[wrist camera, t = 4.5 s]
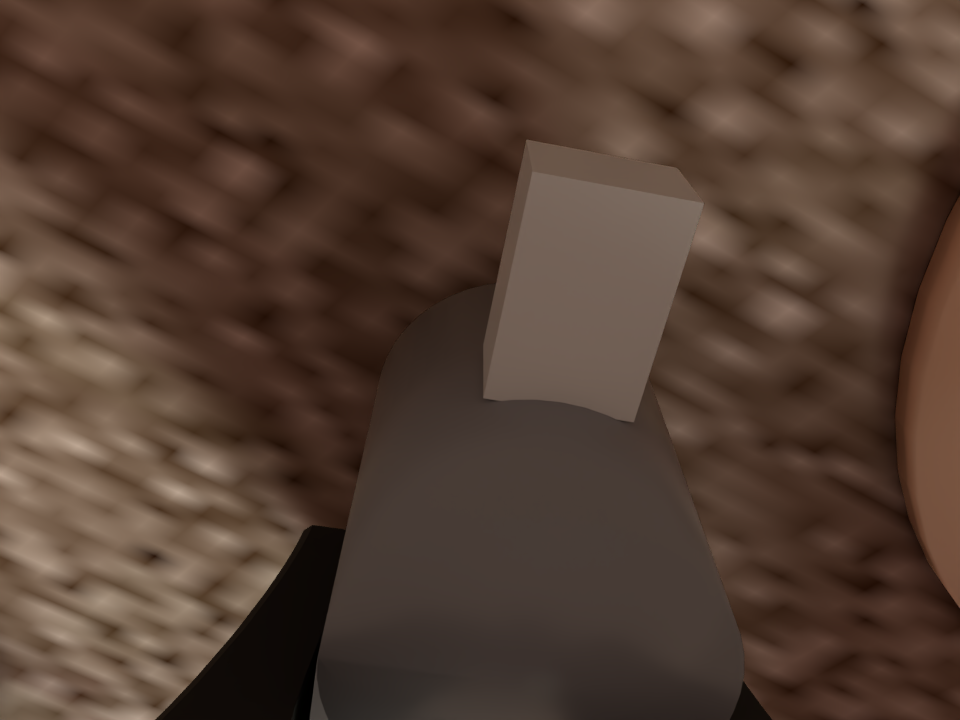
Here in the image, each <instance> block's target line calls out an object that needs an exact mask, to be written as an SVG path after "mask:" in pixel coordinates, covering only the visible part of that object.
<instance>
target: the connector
mask: <svg viewBox="0 0 960 720" xmlns="http://www.w3.org/2000/svg"><path fill="white" fill-rule="evenodd" d="M703 206H704V202H703V201H702V199H701V198H700V197H699V196H698V194H697V193H696V192H695V190H694V189H693V188H692V186H691V185H690V184H689V182H688V181H687V180H686V179H685V177H684V176H683V175H682V173H681V172H680V171H679V169H678V168H676V167H670V166H665V165H660V164H654V163H649V162H644V161H638V160H633V159H628V158H622V157H617V156H612V155H606V154H601V153H596V152H590V151H585V150H580V149H574V148H569V147H564V146H558V145H553V144H548V143H542V142H537V141H532V140H526V144H525V148H524V153H523V158H522V163H521V167H520V172H519V177H518V182H517V186H516V191H515V196H514V201H513V206H512V210H511V215H510V220H509V225H508V229H507V234H506V239H505V244H504V248H503V253H502V258H501V263H500V268H499V272H498V277H497V282H496V284H488V285H483V286H479V287H475V288H471V289H467V290H465V291H462V292H460V293H457V294H455V295H452V296H449V297H448V298H446V299H444V300H442V301H440V302H438V303H437V304H435V305H433V306H432V307H430V308H429V309H428V310H426V311H425V312H424V313H422V314H421V315H419V316H418V317H417V318H416V319H415V320H414V321H413V322H412V323H411V324H410V325H409V326H408V327H407V328H406V329H405V330H404V331H403V333H402V334H401V335H400V337H399V338H398V339H397V340H396V342H395V343H394V345H393V347H392V349H391V350H390V352H389V354H388V356H387V358H386V361H385V363H384V366H383V368H382V371H381V375H380V380H379V384H378V389H377V393H376V398H375V402H374V407H373V411H372V416H371V420H370V425H369V429H368V434H367V438H366V443H365V447H364V451H363V456H362V460H361V465H360V469H359V474H358V478H357V483H356V487H355V492H354V496H353V501H352V505H351V510H350V514H349V519H348V523H347V528H346V532H345V537H344V541H343V546H342V550H341V555H340V559H339V564H338V568H337V572H336V577H335V581H334V586H333V590H332V595H331V599H330V604H329V608H328V613H327V617H326V622H325V626H324V631H323V635H322V640H321V644H320V649H319V653H318V658H317V665H316V673H315V681H314V689H313V696H312V704H311V712H310V720H730V718H731V716H732V714H733V712H734V709H735V707H736V704H737V701H738V699H739V696H740V693H741V688H742V683H743V678H744V650H743V645H742V639H741V634H740V632H739V629H738V626H737V623H736V620H735V618H734V615H733V612H732V609H731V606H730V604H729V601H728V598H727V595H726V592H725V590H724V587H723V584H722V581H721V578H720V576H719V573H718V570H717V567H716V564H715V562H714V559H713V556H712V553H711V550H710V548H709V545H708V542H707V539H706V536H705V534H704V531H703V528H702V525H701V522H700V520H699V517H698V514H697V511H696V508H695V506H694V503H693V500H692V497H691V494H690V492H689V489H688V486H687V483H686V480H685V478H684V475H683V472H682V469H681V466H680V464H679V461H678V458H677V455H676V452H675V450H674V447H673V444H672V441H671V438H670V436H669V433H668V430H667V427H666V424H665V422H664V419H663V416H662V413H661V410H660V408H659V405H658V402H657V399H656V397H655V394H654V391H653V388H652V385H651V383H650V380H649V374H650V371H651V367H652V364H653V361H654V358H655V355H656V352H657V349H658V346H659V343H660V339H661V336H662V333H663V330H664V327H665V324H666V321H667V318H668V315H669V312H670V308H671V305H672V302H673V299H674V296H675V293H676V290H677V287H678V284H679V281H680V277H681V274H682V271H683V268H684V265H685V262H686V259H687V256H688V253H689V250H690V246H691V243H692V240H693V237H694V234H695V231H696V228H697V225H698V222H699V219H700V215H701V212H702V209H703Z"/></svg>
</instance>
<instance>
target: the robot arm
mask: <svg viewBox="0 0 960 720" xmlns="http://www.w3.org/2000/svg"><path fill="white" fill-rule="evenodd" d="M345 532H346V530H343V529H336V528H329V527H322V526H315V525H312V526H310V527H309V528H307V529H305V530H304V531H303V533H302V535H301V537H300V539H299V541H298V543H297V545H296V547H295V548H294V550H293V552H292V554H291V555H290V557H289V558H288V560H287V562H286V563H285V565H284V566H283V568H282V569H281V571H280V572H279V574H278V575H277V577H276V578H275V580H274V581H273V583H272V584H271V585H270V587H269V588H268V590H267V591H266V593H265V594H264V595H263V597H262V598H261V599H260V600H259V602H258V603H257V604H256V606H255V607H254V608H253V610H252V611H251V612H250V614H249V615H248V616H247V617H246V619H245V620H244V621H243V623H242V624H241V625H240V627H239V628H238V629H237V630H236V632H235V633H234V634H233V635H232V637H231V638H230V639H229V640H228V641H227V642H226V644H225V645H224V646H223V647H222V648H221V649H220V650H219V652H218V653H217V654H216V655H215V656H214V657H213V659H212V660H211V661H210V662H209V663H208V664H207V665H206V667H205V668H204V669H203V670H202V671H201V672H200V674H199V675H198V676H197V677H196V678H195V679H194V680H193V681H192V682H191V684H190V685H189V686H188V687H187V688H186V689H185V690H184V691H183V692H182V693H181V694H180V695H179V696H178V697H177V698H176V699H175V700H174V701H173V703H172V704H171V705H170V706H169V707H168V708H167V709H166V710H165V711H164V712H163V713H162V714H161V715H160V716H159V717H158V718H157V719H156V720H310V712H311V704H312V696H313V689H314V681H315V673H316V665H317V658H318V653H319V649H320V644H321V640H322V635H323V631H324V626H325V622H326V617H327V613H328V608H329V604H330V599H331V595H332V590H333V586H334V581H335V577H336V572H337V568H338V564H339V559H340V555H341V550H342V546H343V541H344V537H345ZM730 720H772V719H771V718H770V716H769V715H768V714H767V712H766V711H765V710H764V709H763V707H762V706H761V705H760V703H759V702H758V701H757V699H756V698H755V697H754V695H753V694H752V693H751V691H750V690H749V688H748V687H747V686H746V684H745V683H744V682H743V683H742V688H741V693H740V696H739V699H738V701H737V704H736V707H735V709H734V712H733V714H732V716H731V718H730Z"/></svg>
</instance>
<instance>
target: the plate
mask: <svg viewBox="0 0 960 720" xmlns="http://www.w3.org/2000/svg"><path fill="white" fill-rule="evenodd" d="M895 429H896V447H897V466H898V474H899V479H900V483H901V487H902V492H903V496H904V500H905V504H906V509H907V513H908V517H909V521H910V523H911V525H912V527H913V530H914V532H915V534H916V536H917V539H918V541H919V543H920V545H921V548H922V550H923V552H924V554H925V557H926V559H927V561H928V563H929V564H930V566H931V567H932V569H933V570H934V572H935V573H936V575H937V576H938V578H939V579H940V580H941V582H942V583H943V585H944V586H945V588H946V589H947V591H948V592H949V594H950V595H951V596H952V598H953V599H954V601H955V602H956V604H957V605H958V606H959V608H960V196H959V198H958V200H957V201H956V203H955V205H954V207H953V209H952V211H951V213H950V214H949V216H948V218H947V220H946V223H945V225H944V228H943V230H942V233H941V235H940V238H939V240H938V243H937V245H936V248H935V250H934V253H933V255H932V258H931V260H930V263H929V265H928V268H927V270H926V273H925V275H924V278H923V280H922V283H921V285H920V288H919V290H918V294H917V298H916V302H915V306H914V310H913V314H912V317H911V321H910V325H909V329H908V333H907V337H906V341H905V345H904V348H903V352H902V356H901V365H900V374H899V383H898V393H897V402H896V411H895Z"/></svg>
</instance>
